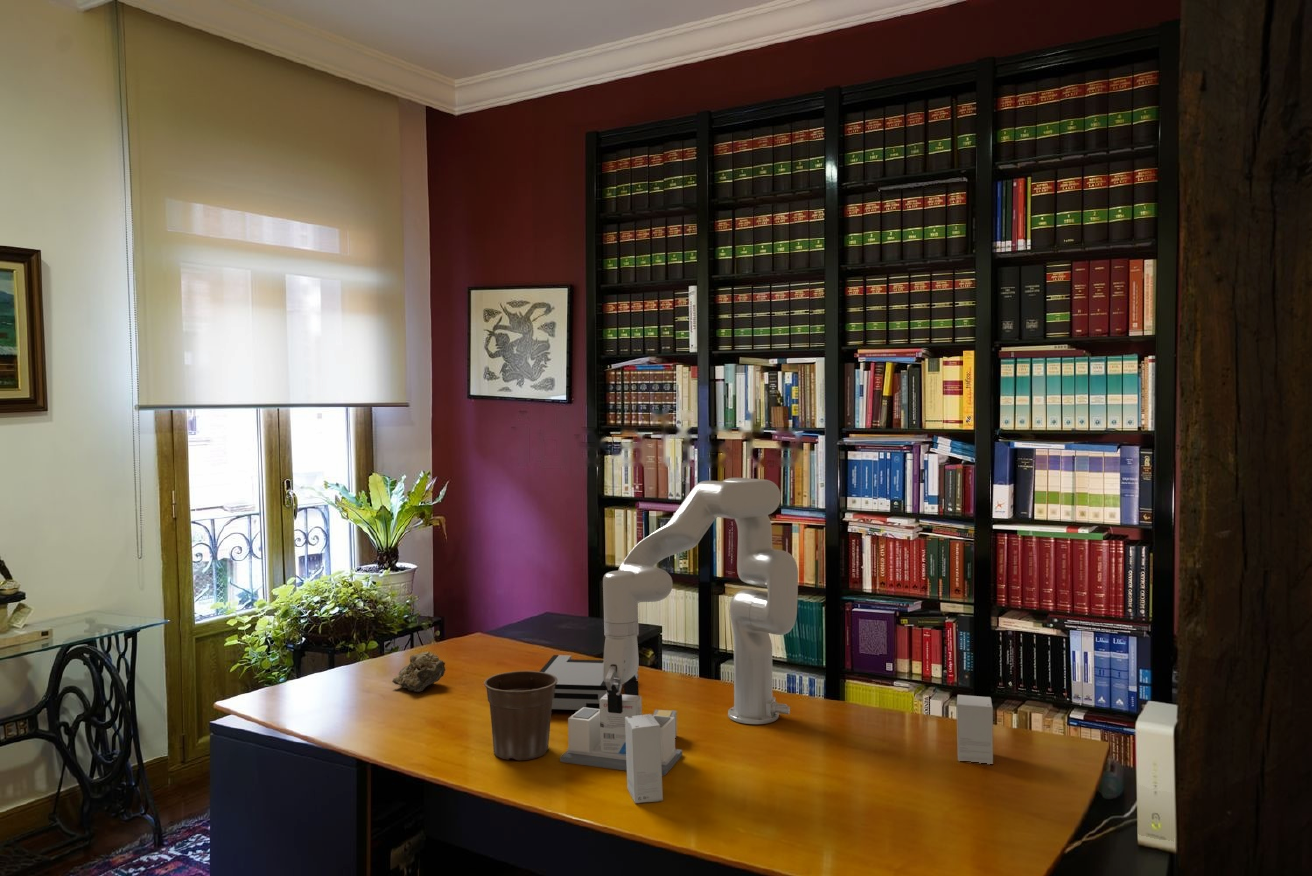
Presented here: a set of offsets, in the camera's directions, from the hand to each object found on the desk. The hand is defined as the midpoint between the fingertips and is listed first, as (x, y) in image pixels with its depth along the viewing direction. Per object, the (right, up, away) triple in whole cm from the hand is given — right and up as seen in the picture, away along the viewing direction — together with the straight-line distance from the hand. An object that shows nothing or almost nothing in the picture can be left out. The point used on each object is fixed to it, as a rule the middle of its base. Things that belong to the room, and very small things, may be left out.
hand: (623, 705), depth 196 cm
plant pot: (-23, -12, +5) cm, 26 cm away
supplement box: (+77, -11, -1) cm, 78 cm away
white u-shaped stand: (0, -12, 0) cm, 12 cm away
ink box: (0, -10, 0) cm, 10 cm away
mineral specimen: (-60, -11, +54) cm, 81 cm away
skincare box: (+5, -12, -19) cm, 23 cm away
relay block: (+9, -12, +11) cm, 18 cm away
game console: (-14, -11, +45) cm, 48 cm away
